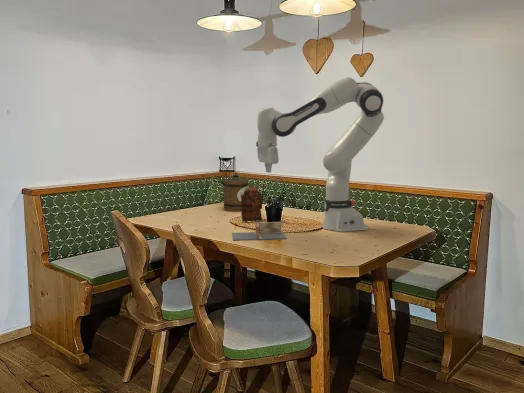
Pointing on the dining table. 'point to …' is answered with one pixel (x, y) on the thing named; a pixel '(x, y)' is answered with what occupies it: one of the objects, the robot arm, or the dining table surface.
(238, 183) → the wooden container
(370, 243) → the dining table surface
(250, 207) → the wooden figurine
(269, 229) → the fixed fence panel
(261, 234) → the card
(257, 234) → the hinged fence panel
